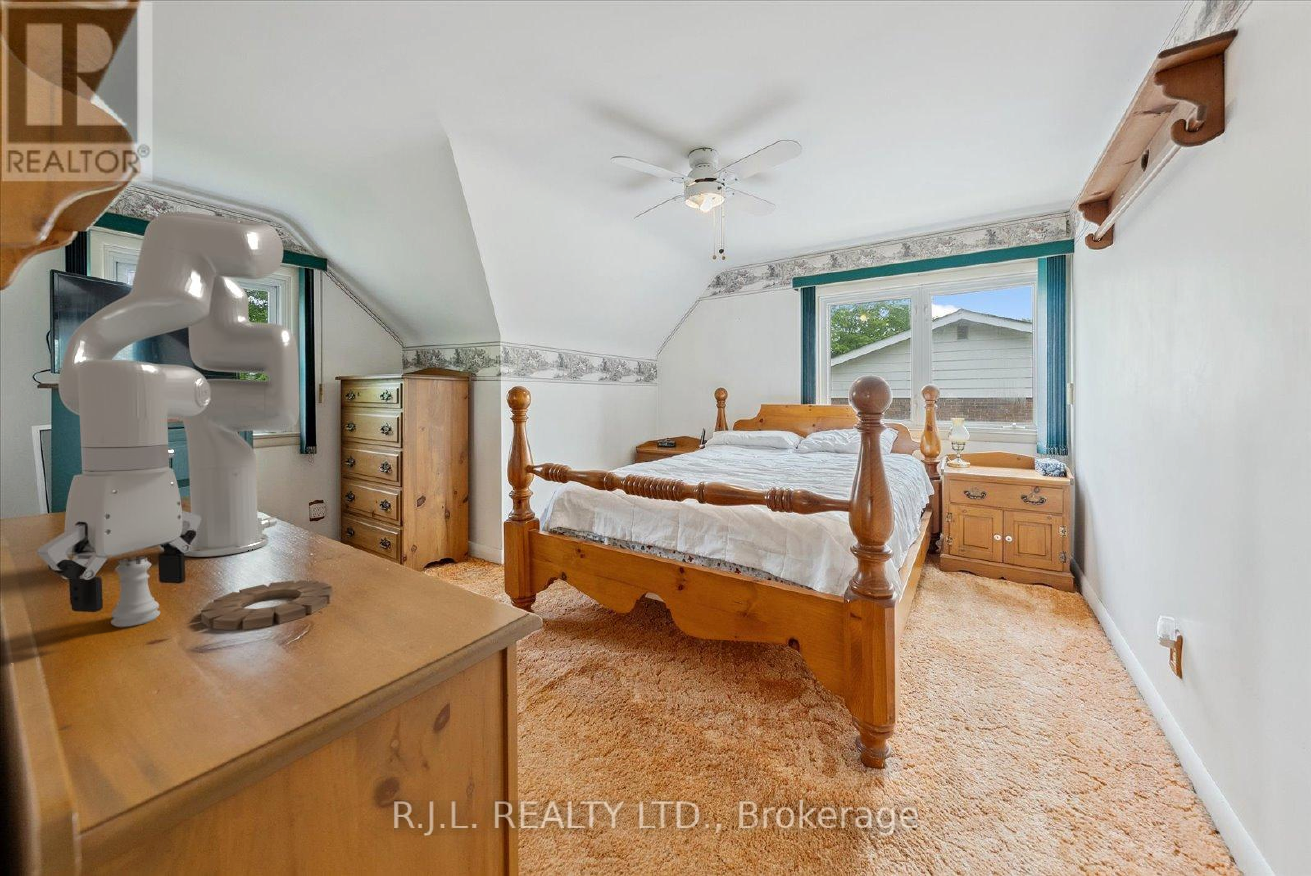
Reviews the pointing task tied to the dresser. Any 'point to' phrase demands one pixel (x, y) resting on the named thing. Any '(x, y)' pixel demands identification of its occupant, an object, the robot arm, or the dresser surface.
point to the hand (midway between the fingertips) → (133, 595)
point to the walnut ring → (234, 615)
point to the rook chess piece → (134, 594)
